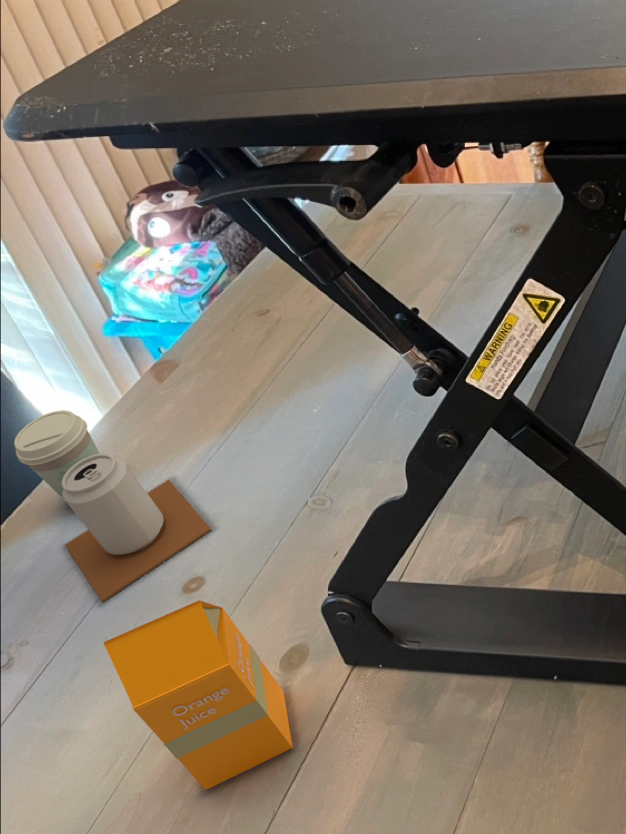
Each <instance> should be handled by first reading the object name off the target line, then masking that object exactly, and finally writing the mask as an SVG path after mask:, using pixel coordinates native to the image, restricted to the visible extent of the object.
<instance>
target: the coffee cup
mask: <svg viewBox="0 0 626 834" xmlns="http://www.w3.org/2000/svg"><path fill="white" fill-rule="evenodd" d="M13 444H14V448H15V455H16V456H17V459H18V461H19V462H20V463H22V464H24V465H27V466H28V467H29V468H30V469H31V470H32V471H33V472H35V474H36V475H38V477H39V478H41V479H42V480H43V481H44V482H45V483H46V484H47V485H48V486H49V487H50V488H51V489H52V490H53V491H54V492H56V494H58V495H59V496H60V497H61V498H62V499H63V500H64V501H65V499H64V498H63V493H62V492H63V489H64V488H63V487H62V479H63V477H64V475H65V474H66V472H67V471H68V470H69V469H70V468H71V467H72V466H73V465H74V464H76V463H78V462H79V461H81V460H82V459H84V458H87V457H89V456H92V455H95V454H101V453H100V451H99V449H98V447H97V445H96V444H95V442H94V439H93V438H92V436H91V434H90V432H89V430H88V423H87V421H86V420H84V419H83V418H82V416H80V415H77V414H75V413H73V412H72V411H70V410H65V409H64V410H61V409H60V410H55V411H51V412H48V413H45V414H42V415H40V416H38V417H36V418H35V419H34V420H32V421H30V422H29V423H27V424H25V426H24V427H23V428H22V429H20V431H19V432H18V433H17V434H16V436H15V438H14V443H13Z"/></svg>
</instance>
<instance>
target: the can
mask: <svg viewBox="0 0 626 834" xmlns="http://www.w3.org/2000/svg"><path fill="white" fill-rule="evenodd" d="M62 487H63V488H64V489H63V492H62V493H63V498H64V499H65V500H64V499H63V498H62V499H63V500H64V501H65V502H66V504H67V505H69V507H70V508H71V510H72V511H73V512H74V513H75V515H76V516H77V517H78V518H79V519H80V522H82V523H83V525H84V526H85V527H86V529H87V531H88V530H89V531H90V532H91V533H92V535H93V536H94V537H95V538H96V540H97V541H98V542H99V543H100V545H101V546H102V547H103V548H104V550H105V551H107V552H108V553H110V554H114V555H118V554H130V553H133V552H136V551H138V550H140V549H142V548H144V547H146V546H147V545H148V544H150V543H151V542H152V541H153V540H154V539H155V538H156V537H157V535H158V533H159V532H160V529H161V527H162V525H163V521H164V518H163V515H162V513H161V512H160V510H159V509H158V507H157V506H156V505H155V503H154V502H153V500H152V499H151V498H150V496H149V495H148V492H147V491H146V489H145V488H144V487H143V485H142V484H141V482H140V481H139V479H138V478H137V477H136V475H135V474H134V473H133V471H132V470H131V468H130V467H129V465H128V464H127V462H125V461H124V460H123V459H121V458H117V457H114V456H113V455H112V454H111V453H104V452H103V453H100V454H95V455H92V456H89V457H87V458H84V459H82V460H81V461H79V462H78V463H76V464H74V465H73V466H72V467H71V468H70V469H69V470H68V471H67V472H66V474H65V475H64V477H63V479H62Z"/></svg>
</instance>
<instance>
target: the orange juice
mask: <svg viewBox="0 0 626 834" xmlns="http://www.w3.org/2000/svg"><path fill="white" fill-rule="evenodd" d="M102 644H103V645H104V647H105V650H106V652H107V654H108V656H109V658H110V660H111V663H112V665H113V667H114V669H115V671H116V673H117V676H118V677H119V680H120V682H121V684H122V686H123V688H124V691H125V692H126V695H127V696H128V697H127V698H128V699H129V701H130V703H131V705H132V710H133V711H134V712H135V713H136V714H137V715H138V717H139V718H140V719H141V720H142V721H143V722H144V723H145V724H146V726H147V727H148V728H149V729H150V730H151V732H153V733H154V734H155V735H156V736H157V738H158V739H159V740H160V741H161V742H162V744H163V746H164V747H165V748H166V749H167V750H168V751H169V752H170V753H171V755H173V757H175V759H177V760H178V761H179V762H180V763H181V764H182V766H183V767H184V768H185V769H186V770H187V771H188V772H189V773H190V774H191V776H192V777H193V778H194V779H195V780H196V781H197V782H198V783H199V784H200V785H201V786H202V788H203V789H204V790H205V791H207V790H209V789H212V788H213V787H216V786H217V785H219V784H221V783H223V782H225V781H227V780H229V779H232V778H234V777H236V776H238V775H240V774H242V773H244V772H246V771H248V770H251V769H253V768H255V767H256V766H258V765H261V764H263V763H264V762H267V761H269V760H271V759H273V758H275V757H277V756H279V755H281V754H283V753H285V752H287V751H290V750H292V749H293V747H294V746H293V741H292V736H291V729H290V728H291V727H290V722H289V716H288V709H287V704H286V697H285V691H284V690H283V689H282V687H281V686H280V685H279V683H278V682H277V681H276V679H275V678H274V676H273V675H272V673H271V672H270V671H269V669H268V668H267V666H266V665H265V664H264V663H263V661H262V660H261V657H260V656H259V655H258V654H257V652H256V651H255V649H254V648H253V646H252V645H251V644H250V643H249V642H248V641H247V639H246V637H245V636H244V635H243V634H242V632H241V631H240V629H239V628H238V627H237V625H236V624H235V623H234V621H233V620H232V619H231V617H230V616H229V614H228V613H227V611H226V610H225V609H224V607H221V606H218V605H214V604H212V603H209V602H207V601H204V600H203V601H202V600H196V601H194V602H192V603H190V604H187V605H185V606H183V607H181V608H178V609H176V610H174V611H171V612H169V613H167V614H165V615H162V616H160V617H158V618H156V619H154V620H151V621H149V622H146V623H144V624H142V625H139V626H137V627H135V628H133V629H131V630H128V631H126V632H124V633H121V634H119V635H117V636H115V637H112V638H110V639H108V640H105V641H104V642H102Z"/></svg>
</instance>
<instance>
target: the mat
mask: <svg viewBox="0 0 626 834" xmlns="http://www.w3.org/2000/svg"><path fill="white" fill-rule="evenodd" d="M147 493H148V495H149V496H150V498H151V499H152V500H153V502H154V503H155V505H156V506H157V507H158V509H159V510H160V512H161V513H162V515H163V518H164V521H163V525H162V527H161V529H160V532H159V533H158V535H157V537H156V538H155V539H154V540H153V541H152V542H151V543H150V544H148V545H147V546H146V547H144V548H142V549H140V550H138V551H136V552H133V553H130V554H118V555H114V554H110V553H108V552H107V551H105V550H104V548H103V547H102V546H101V545H100V543H99V542H98V541H97V540H96V538H95V537H94V536H93V535H92V533H91V532H90V531H89V530H88V529H87V530H86V531H84V532H83V533H81V534H79V535H78V536H77V537H75V538H74V539H71V540H70V541H68V542H67V543H65V544H64V546H65V547H66V549H67V551H68V552H69V553H70V555H71V557H72V558H73V559H74V561H75V563H76V564H77V566H78V568H79V569H80V571H81V572H82V573H83V575H84V576H85V578H86V580H87V581H88V583H89V584H90V586H91V587H92V588H93V590H94V592H95V594H96V595H97V596H98V598H99V599H100V601H101V602H102V603H105V602H106V601H108V600H109V599H110V598H112V597H113V596H115V595H116V594H118V593H120V592H121V591H122V590H124V589H125V588H127V587H129V586H131V584H133V583H134V582H136V581H137V580H139V579H141V578H142V577H144V576H145V575H147V574H148V573H150V572H151V571H153V570H154V569H156V568H158V567H159V566H160V565H162V564H163V563H165V562H166V561H167V560H169V559H171V558H172V557H173V556H175V555H177V554H178V553H180V552H181V551H183V550H184V549H186V548H188V547H189V546H190V545H192V544H193V543H195V542H196V541H198V540H199V539H201V538H202V537H203V536H205V535H207V534H208V533H210V532H211V531H212V529H211V527H210V526H209V525H208V524H207V523H206V521H205V520H204V519H203V518H202V516H201V515H200V514H199V513H198V512H197V511H196V510H195V508H194V507H193V506H192V505H191V504H190V502H188V500H187V499H186V498H185V497H184V496H183V495H182V494H181V492H180V491H179V490H178V489H177V488H176V486H175V485H174V484H173V482H171V480H170V479H167V480H165V481H164V482H163V483H161V484H160V485H158V486H156V487H155V488H153V489H151V490H150V491H148V492H147Z"/></svg>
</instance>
